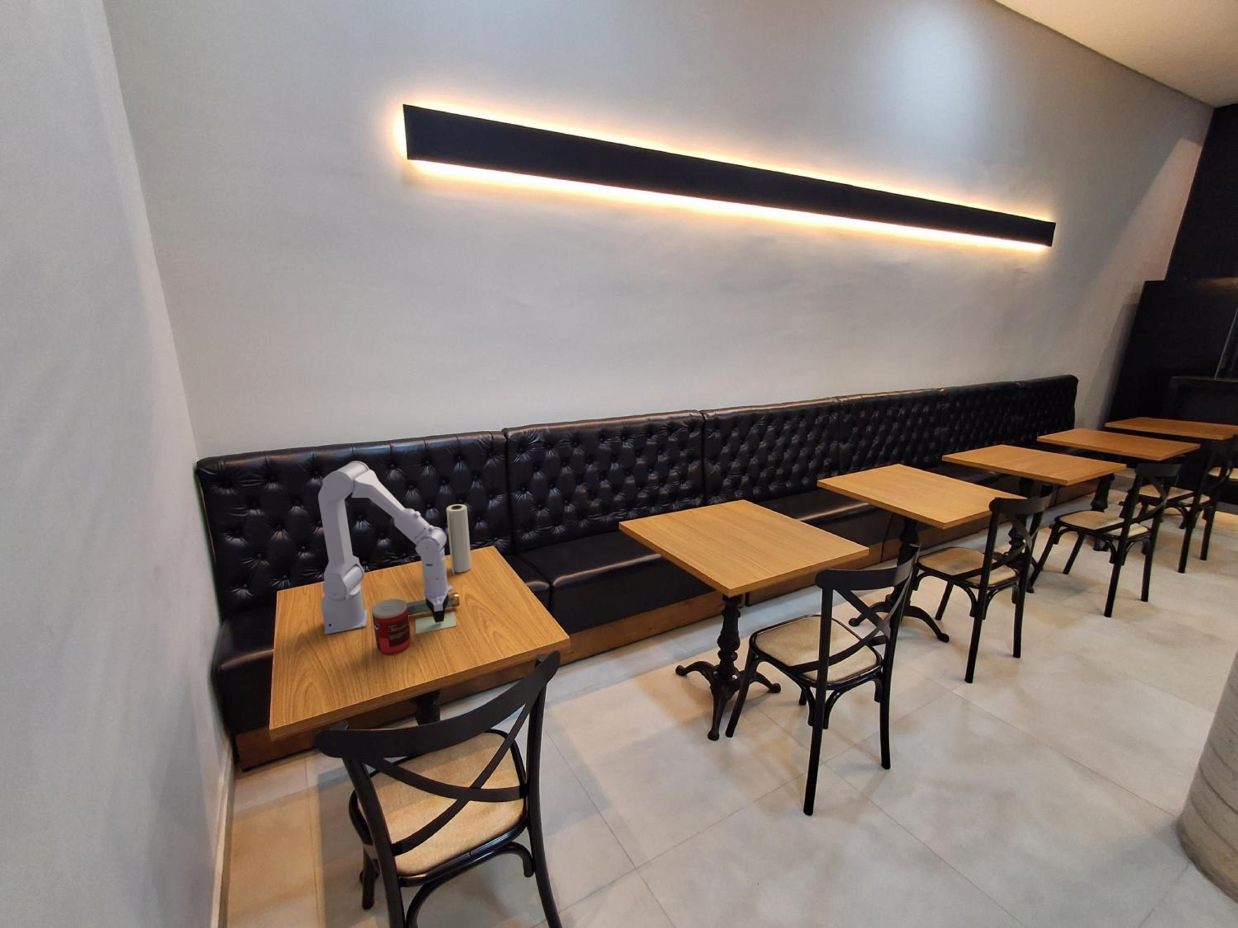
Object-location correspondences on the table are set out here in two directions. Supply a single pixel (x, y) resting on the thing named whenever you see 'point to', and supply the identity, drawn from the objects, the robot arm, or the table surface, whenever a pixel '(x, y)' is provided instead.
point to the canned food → (391, 626)
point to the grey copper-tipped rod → (422, 607)
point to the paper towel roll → (458, 538)
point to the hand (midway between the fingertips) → (439, 620)
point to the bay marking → (429, 624)
